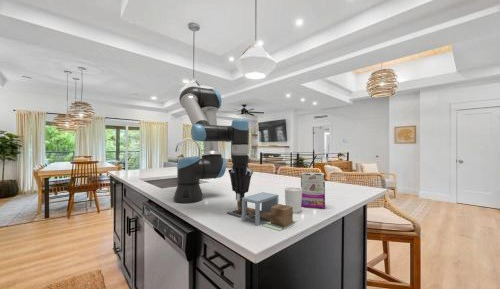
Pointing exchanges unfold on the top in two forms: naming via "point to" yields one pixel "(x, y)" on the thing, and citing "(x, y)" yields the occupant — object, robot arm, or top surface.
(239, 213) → the dark grey flat plate
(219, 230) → the top surface
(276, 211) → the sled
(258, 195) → the tunnel
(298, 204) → the white cup
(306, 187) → the candy bar box
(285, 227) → the mat
